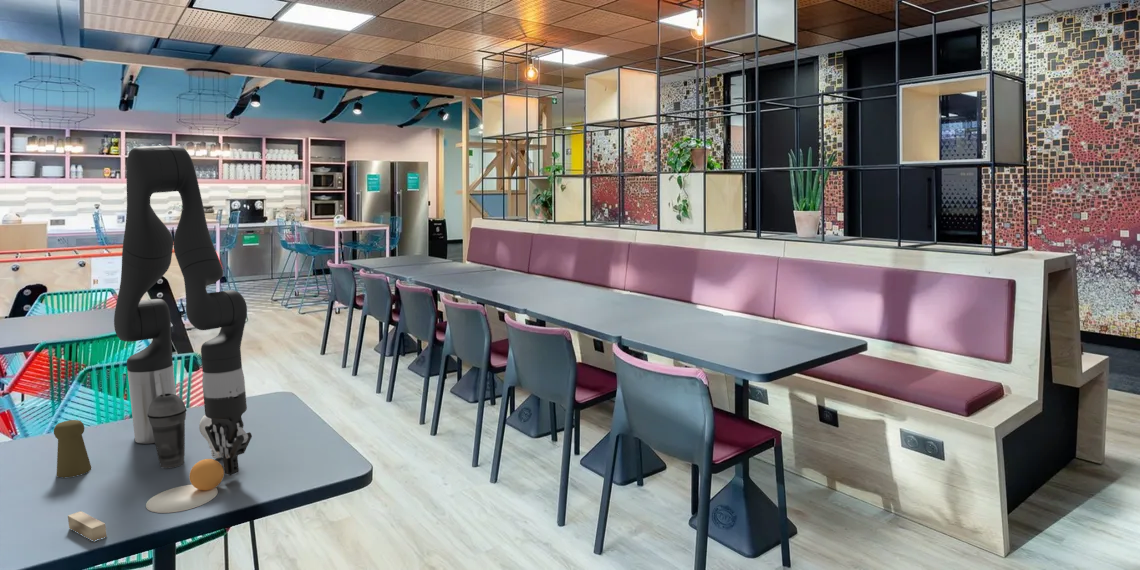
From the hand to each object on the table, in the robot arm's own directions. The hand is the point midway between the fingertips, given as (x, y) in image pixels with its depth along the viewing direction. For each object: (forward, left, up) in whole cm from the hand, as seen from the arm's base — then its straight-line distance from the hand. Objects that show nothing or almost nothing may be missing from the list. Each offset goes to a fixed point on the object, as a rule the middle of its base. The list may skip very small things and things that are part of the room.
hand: (231, 473), depth 140 cm
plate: (0, -10, -1) cm, 10 cm away
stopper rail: (-1, -26, -1) cm, 26 cm away
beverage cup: (-19, -2, -2) cm, 19 cm away
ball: (0, -5, +2) cm, 5 cm away
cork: (-33, -15, -2) cm, 36 cm away
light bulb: (-13, +5, -2) cm, 14 cm away
